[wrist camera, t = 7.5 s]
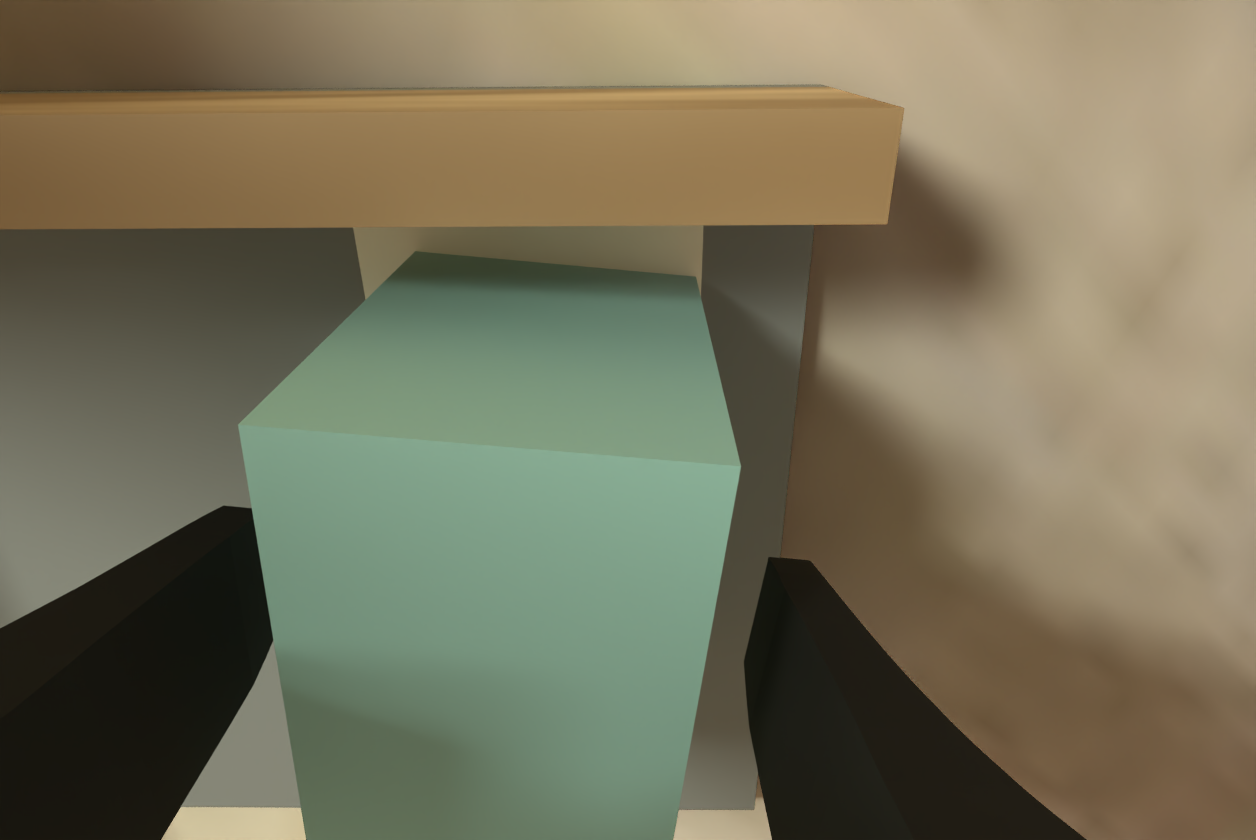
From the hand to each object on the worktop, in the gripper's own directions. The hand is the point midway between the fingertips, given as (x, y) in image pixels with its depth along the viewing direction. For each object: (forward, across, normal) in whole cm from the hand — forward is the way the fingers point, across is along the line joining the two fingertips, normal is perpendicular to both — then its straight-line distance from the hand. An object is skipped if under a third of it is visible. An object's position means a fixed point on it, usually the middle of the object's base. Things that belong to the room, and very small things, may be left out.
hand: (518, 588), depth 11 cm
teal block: (+3, 0, 0) cm, 3 cm away
